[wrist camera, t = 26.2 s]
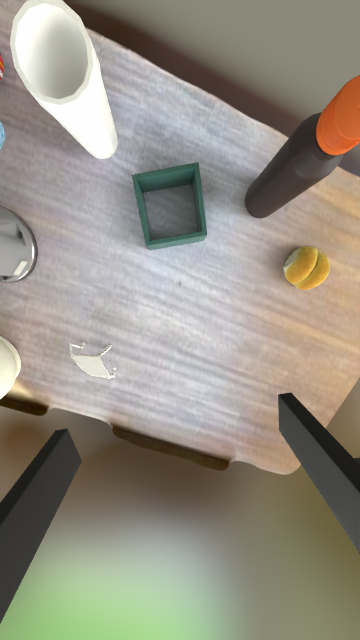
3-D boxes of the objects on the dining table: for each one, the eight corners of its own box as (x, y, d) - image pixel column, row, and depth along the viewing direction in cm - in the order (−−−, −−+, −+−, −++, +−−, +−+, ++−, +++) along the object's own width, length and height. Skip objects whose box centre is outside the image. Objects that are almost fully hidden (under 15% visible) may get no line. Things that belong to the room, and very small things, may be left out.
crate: (150, 250, 38) (146, 246, 33) (138, 189, 35) (131, 174, 30) (203, 240, 37) (207, 235, 32) (195, 178, 34) (198, 161, 30)
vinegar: (278, 179, 35) (407, 55, 15) (276, 217, 36) (389, 149, 17) (244, 182, 35) (328, 61, 15) (243, 220, 36) (318, 154, 17)
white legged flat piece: (126, 346, 43) (119, 355, 38) (116, 374, 45) (109, 386, 40) (78, 330, 42) (65, 336, 37) (70, 359, 44) (57, 370, 39)
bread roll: (306, 294, 40) (320, 296, 36) (275, 274, 39) (286, 274, 35) (330, 261, 38) (347, 260, 35) (298, 240, 37) (312, 236, 33)
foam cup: (84, 97, 31) (20, -25, 19) (132, 123, 32) (103, 25, 20) (70, 155, 33) (3, 80, 21) (116, 178, 34) (79, 120, 22)
